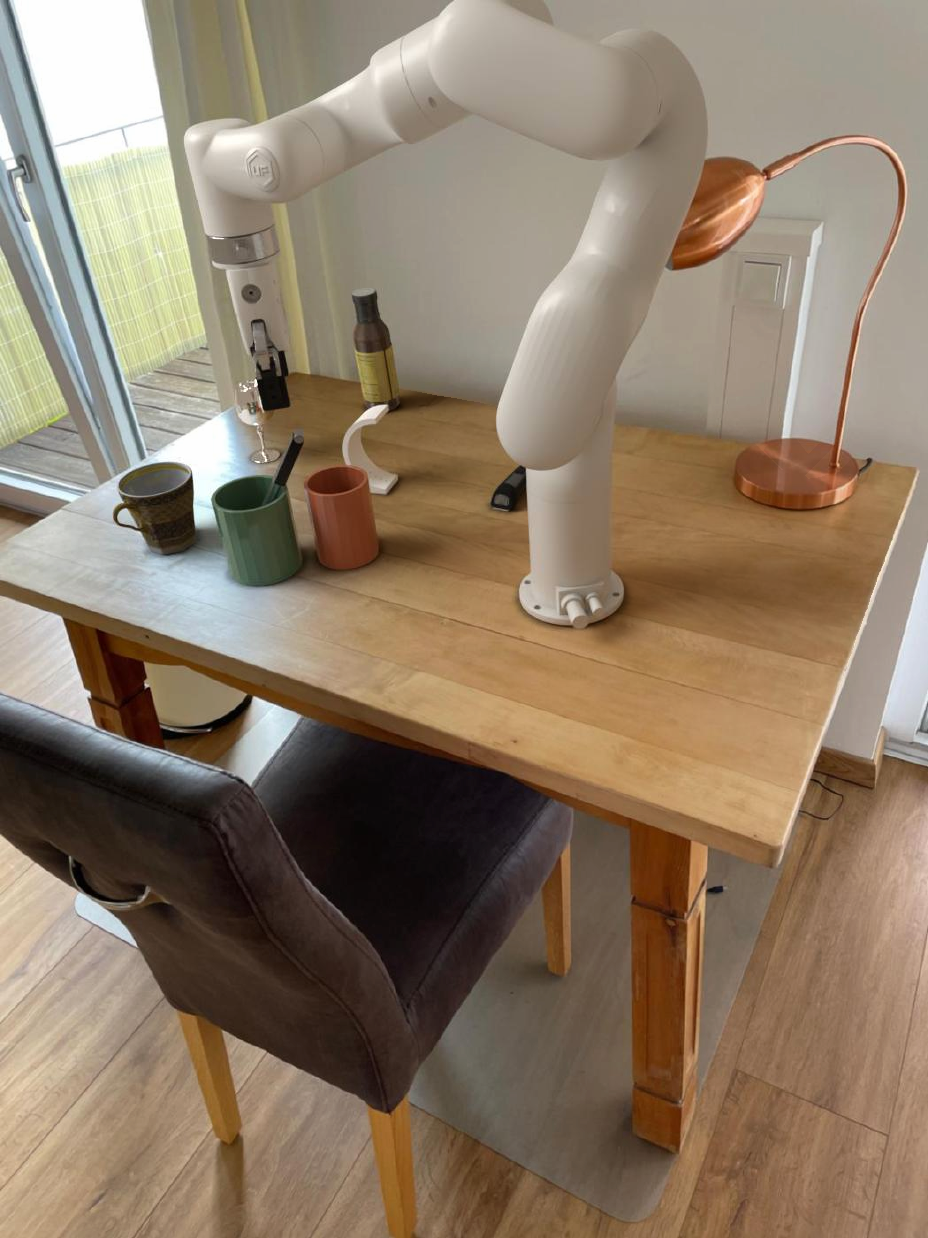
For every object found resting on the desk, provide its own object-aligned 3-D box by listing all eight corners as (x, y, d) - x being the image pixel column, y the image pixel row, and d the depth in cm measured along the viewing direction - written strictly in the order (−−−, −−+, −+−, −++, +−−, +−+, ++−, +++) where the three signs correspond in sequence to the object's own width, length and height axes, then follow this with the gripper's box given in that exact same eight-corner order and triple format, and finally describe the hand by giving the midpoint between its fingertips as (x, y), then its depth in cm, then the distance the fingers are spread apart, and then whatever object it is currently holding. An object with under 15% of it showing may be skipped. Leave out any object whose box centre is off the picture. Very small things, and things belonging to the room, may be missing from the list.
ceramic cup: (172, 518, 146) (154, 456, 140) (223, 532, 141) (207, 468, 136) (105, 562, 137) (83, 498, 131) (157, 579, 133) (137, 513, 127)
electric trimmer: (556, 464, 150) (556, 444, 148) (513, 512, 139) (511, 492, 137) (533, 460, 152) (533, 441, 150) (488, 508, 141) (487, 488, 139)
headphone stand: (386, 494, 146) (375, 418, 139) (349, 490, 148) (336, 415, 141) (398, 479, 150) (388, 404, 143) (361, 475, 152) (349, 402, 145)
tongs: (318, 561, 133) (303, 434, 122) (240, 569, 132) (217, 441, 121) (317, 553, 135) (302, 427, 124) (240, 561, 133) (218, 434, 123)
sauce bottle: (387, 395, 176) (372, 280, 164) (407, 405, 171) (393, 288, 160) (356, 406, 173) (338, 291, 161) (376, 417, 168) (359, 299, 157)
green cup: (304, 579, 130) (288, 505, 123) (228, 591, 129) (209, 517, 123) (301, 541, 138) (286, 470, 131) (230, 552, 137) (212, 481, 130)
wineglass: (241, 463, 158) (224, 392, 151) (257, 447, 163) (242, 377, 156) (274, 466, 157) (258, 394, 150) (289, 449, 161) (275, 378, 154)
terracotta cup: (381, 564, 131) (370, 490, 125) (319, 574, 131) (304, 500, 124) (376, 532, 138) (365, 461, 131) (316, 542, 137) (302, 470, 131)
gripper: (279, 261, 103) (310, 416, 113) (277, 221, 117) (305, 361, 127) (205, 272, 102) (244, 426, 112) (213, 230, 116) (246, 371, 126)
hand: (276, 392), depth 120 cm, fingers open, 9 cm apart
